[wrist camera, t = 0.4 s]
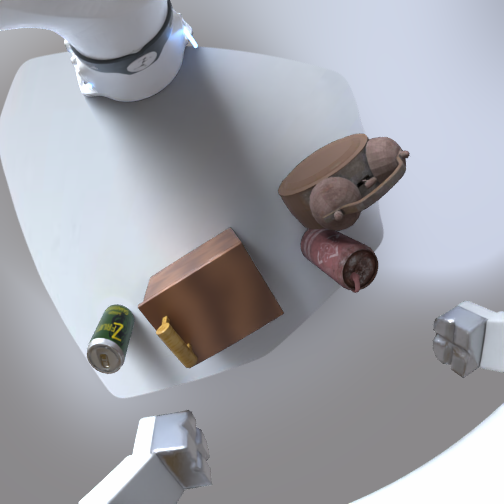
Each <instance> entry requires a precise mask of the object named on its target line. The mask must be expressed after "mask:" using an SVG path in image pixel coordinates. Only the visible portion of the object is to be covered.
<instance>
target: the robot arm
mask: <svg viewBox="0 0 504 504" xmlns="http://www.w3.org/2000/svg"><path fill="white" fill-rule="evenodd" d="M15 28H43V29H48V30H52V31H54V32H56V33H58V34H59V35H60V36H62V37H63V38H64V39H65V46H66V49H67V51H68V52H72V55H73V57H72V58H71V61H72V64H73V65H74V66H75V69H76V74H77V78H78V82H79V86H80V90H81V92H82V94H83V95H84V96H105V97H108V98H110V99H113V100H117V101H123V102H131V101H138V100H142V99H145V98H148V97H150V96H153V95H155V94H156V93H158V92H160V91H161V90H162V89H164V88H165V87H166V86H167V85H168V84H169V83H170V82H171V81H172V80H173V79H174V78H175V76H176V75H177V73H178V71H179V69H180V67H181V64H182V61H183V55H184V49H185V46H186V45H187V44H188V42H189V41H191V43H192V44H193V46H194V47H195V48H196V47H197V43H196V42H195V40H194V39H193V38H192V35H193V31H192V28H191V27H190V26H189V25H188V24H187V23H186V22H185V21H184V20H183V18H182V15H181V14H180V13H177V12H176V11H175V10H174V9H173V8H172V4H171V2H170V0H0V31H2V30H8V29H15ZM85 82H86V83H87V84H85ZM433 330H434V331H435V332H436V336H435V338H434V340H433V351H434V353H435V356H436V357H437V359H438V360H439V361H440V362H442V363H443V364H449V365H451V370H453V371H454V372H455V373H457V374H458V375H460V376H461V377H462V378H464V377H466V376H467V375H468V374H470V373H471V372H473V371H474V370H476V369H477V368H478V367H480V368H483V369H488V370H493V371H498V372H503V373H504V311H501V312H498V313H496V312H493V311H491V310H489V309H486V308H484V307H482V306H480V305H477V304H475V303H473V302H470V301H463V302H462V303H460V304H459V305H457V306H456V307H455V308H453V309H452V310H450V311H448V312H446V313H445V314H443V315H441V316H439V317H438V318H436V319H435V321H434V329H433ZM208 459H209V449H208V445H207V441H206V439H205V436H204V434H203V432H202V430H201V429H199V428H197V427H196V419H195V417H194V416H193V414H192V412H191V411H189V410H187V411H181V412H176V413H170V414H163V415H158V416H152V417H145V418H142V419H141V420H140V421H139V426H138V430H137V435H136V440H135V445H134V450H133V455H132V456H127V457H126V458H125V459H124V460H123V461H122V462H121V463H120V464H119V465H118V466H117V467H116V468H115V469H114V470H113V471H112V472H111V473H110V474H109V475H108V476H107V477H106V478H104V479H103V480H102V481H101V482H100V483H99V484H98V485H97V486H96V487H95V488H94V489H93V490H92V491H91V492H90V493H88V494H87V495H86V496H85V497H84V498H83V499H82V500H81V501H80V502H79V504H177V502H178V501H179V499H180V497H181V496H182V494H183V492H184V489H190V488H196V487H202V486H207V485H212V481H211V469H210V467H209V465H208V463H207V462H206V461H207V460H208ZM349 504H504V403H503V404H502V405H501V406H500V407H499V408H497V409H496V410H495V411H494V412H493V413H492V414H491V415H490V416H489V417H487V418H486V419H485V420H484V421H483V422H482V423H480V424H479V425H478V426H477V427H476V428H474V429H473V430H472V431H471V432H469V433H468V434H467V435H465V436H464V437H463V438H462V439H460V440H459V441H458V442H456V443H455V444H454V445H452V446H451V447H449V448H448V449H447V450H445V451H444V452H442V453H441V454H439V455H438V456H436V457H435V458H433V459H432V460H430V461H429V462H427V463H426V464H424V465H422V466H421V467H419V468H418V469H416V470H414V471H413V472H411V473H409V474H408V475H406V476H404V477H402V478H401V479H399V480H397V481H395V482H393V483H391V484H389V485H387V486H386V487H384V488H382V489H380V490H378V491H376V492H374V493H371V494H369V495H367V496H365V497H363V498H361V499H358V500H356V501H354V502H351V503H349Z"/></svg>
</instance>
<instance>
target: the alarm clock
mask: <svg viewBox="0 0 504 504" xmlns="http://www.w3.org/2000/svg"><path fill="white" fill-rule="evenodd" d="M408 156H409V152H408V151H403V150H402V149H401V147H400V146H399V145H398V144H397V143H396V142H395V141H394V140H392V139H390V138H388V137H378V138H372V139H370V140H369V139H368V137H367V136H366V135H365V134H354V135H350V136H347V137H344V138H342V139H339V140H336V141H334V142H331V143H329V144H328V145H326V146H324V147H322V148H320V149H319V150H317V151H315V152H314V153H313V154H311V155H310V156H308V157H307V158H306V159H304V160H303V161H302V162H301V163H300V164H299V165H297V166H296V167H295V168H294V169H293V171H292V172H291V173H290V174H289V175H288V176H287V177H286V178H285V179H284V180H283V181H282V183H281V185H280V187H279V189H278V193H279V195H280V196H281V198H282V199H283V201H284V203H285V204H286V206H287V208H288V209H289V210H290V212H291V213H292V214H293V215H294V216H295V217H296V218H297V219H298V220H299V222H300V223H301V224H302V225H303V226H304V227H306V228H308V229H322V228H327V229H329V230H336V231H340V230H344V229H347V228H349V227H350V226H352V225H353V224H354V223H355V222H356V221H357V220H358V218H359V216H360V213H361V211H362V210H364V209H366V208H368V207H369V206H371V205H372V204H373V203H375V202H376V201H378V200H379V199H380V198H381V197H382V196H384V195H385V194H386V193H387V192H388V191H389V190H390V189H391V188H392V187H393V186H394V185H395V184H396V183H397V182H398V181H399V180H400V179H401V178H402V176H403V175H404V173H405V171H406V160H405V158H408Z"/></svg>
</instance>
